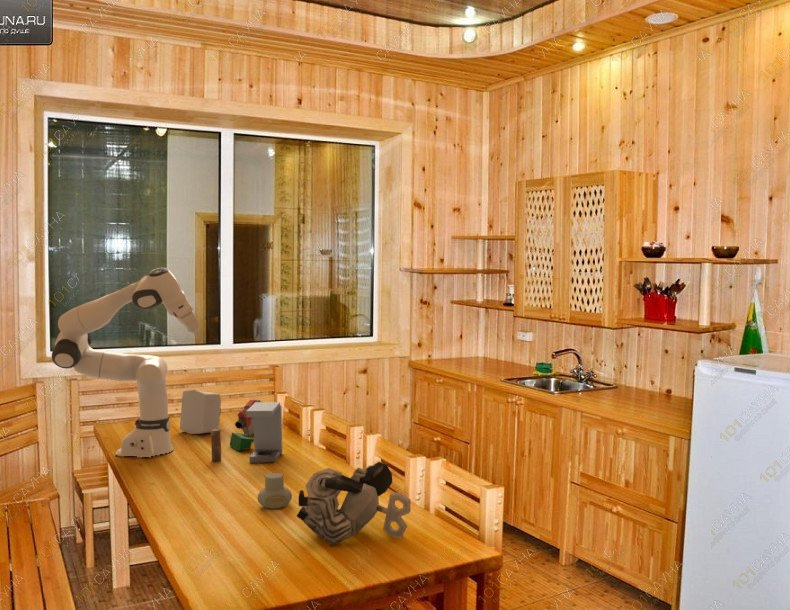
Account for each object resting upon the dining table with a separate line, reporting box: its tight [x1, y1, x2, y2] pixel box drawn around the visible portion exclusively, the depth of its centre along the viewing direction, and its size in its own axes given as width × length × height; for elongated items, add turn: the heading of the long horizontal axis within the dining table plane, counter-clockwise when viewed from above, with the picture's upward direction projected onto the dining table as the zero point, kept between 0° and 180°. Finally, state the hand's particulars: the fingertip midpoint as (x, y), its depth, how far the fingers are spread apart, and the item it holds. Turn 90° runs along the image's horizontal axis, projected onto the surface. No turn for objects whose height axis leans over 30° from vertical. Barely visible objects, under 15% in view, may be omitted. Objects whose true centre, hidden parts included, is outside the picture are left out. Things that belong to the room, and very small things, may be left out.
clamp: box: [229, 432, 254, 452], centre depth 308 cm, size 12×6×9 cm, turn 28°
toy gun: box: [234, 398, 262, 438], centre depth 330 cm, size 4×20×15 cm, turn 163°
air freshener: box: [256, 472, 293, 510], centre depth 237 cm, size 11×8×10 cm
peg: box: [210, 428, 222, 463], centre depth 290 cm, size 4×4×12 cm
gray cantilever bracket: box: [246, 401, 284, 455], centre depth 290 cm, size 11×16×21 cm
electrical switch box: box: [179, 389, 222, 435], centre depth 340 cm, size 15×15×20 cm
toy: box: [296, 461, 412, 547], centre depth 214 cm, size 21×31×30 cm
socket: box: [249, 450, 281, 464], centre depth 291 cm, size 10×10×2 cm
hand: (194, 333), depth 290 cm, fingers open, 8 cm apart
